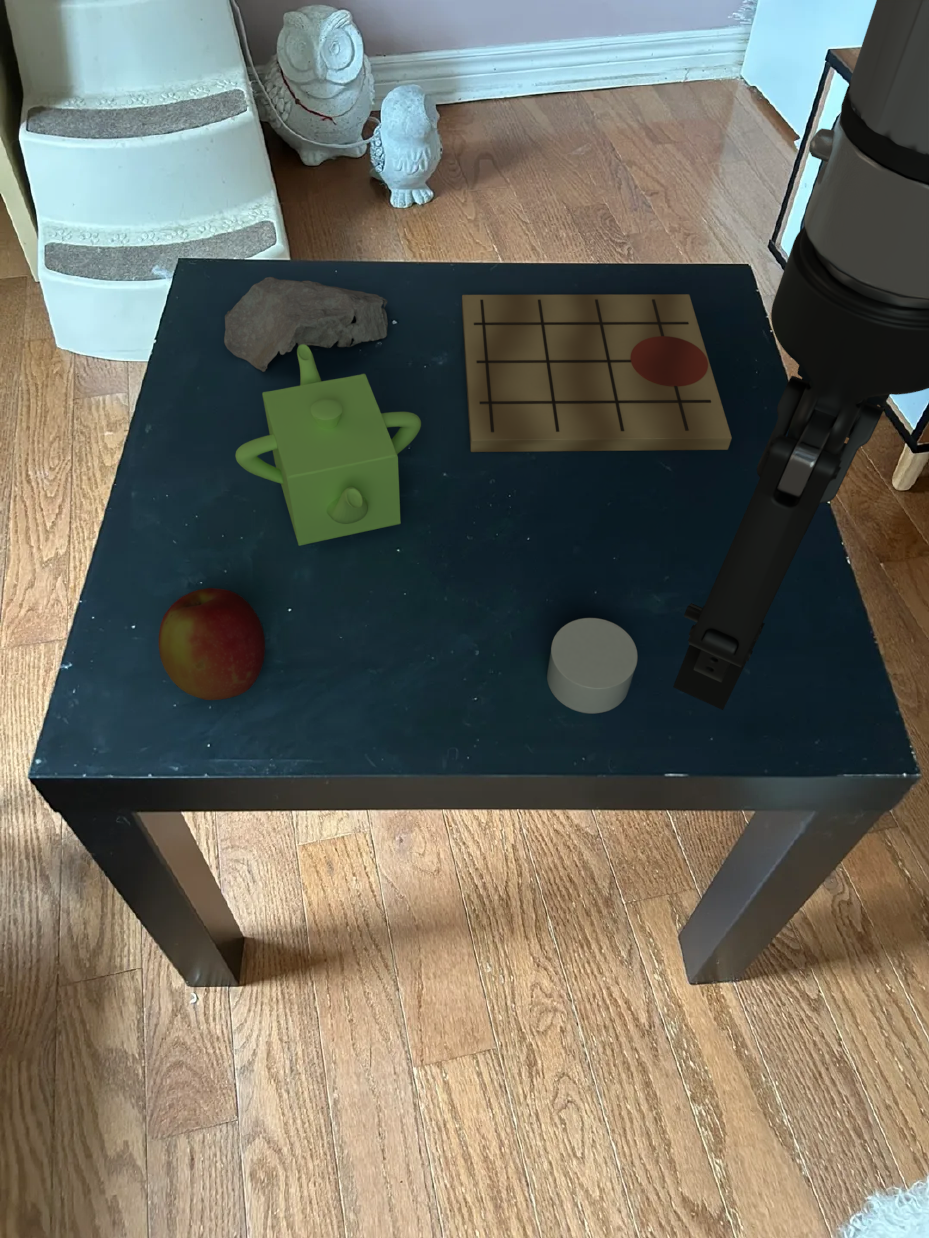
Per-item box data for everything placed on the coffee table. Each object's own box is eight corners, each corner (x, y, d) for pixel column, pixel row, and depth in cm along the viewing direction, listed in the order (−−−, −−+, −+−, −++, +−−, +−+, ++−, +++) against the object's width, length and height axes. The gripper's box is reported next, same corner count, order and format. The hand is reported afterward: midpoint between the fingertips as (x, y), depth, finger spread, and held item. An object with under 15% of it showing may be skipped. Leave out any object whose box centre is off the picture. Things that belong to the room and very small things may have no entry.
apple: (286, 640, 76) (272, 575, 69) (253, 727, 71) (235, 667, 64) (193, 624, 76) (171, 558, 70) (154, 709, 72) (127, 647, 65)
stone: (334, 426, 95) (392, 345, 104) (356, 363, 88) (416, 283, 98) (195, 351, 94) (266, 275, 103) (207, 281, 87) (281, 208, 97)
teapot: (311, 425, 90) (299, 330, 82) (442, 468, 87) (443, 374, 79) (224, 536, 82) (200, 443, 73) (365, 587, 79) (358, 496, 70)
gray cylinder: (623, 643, 76) (631, 616, 73) (635, 712, 72) (643, 687, 70) (543, 644, 76) (547, 618, 73) (550, 714, 72) (555, 689, 69)
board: (686, 306, 103) (689, 293, 102) (727, 450, 90) (732, 436, 89) (461, 307, 102) (462, 293, 101) (470, 452, 89) (471, 439, 87)
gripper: (886, 88, 43) (754, 440, 60) (680, 411, 30) (586, 745, 47) (1060, 135, 41) (873, 485, 58) (922, 503, 28) (732, 817, 45)
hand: (744, 602), depth 53 cm, fingers open, 13 cm apart
